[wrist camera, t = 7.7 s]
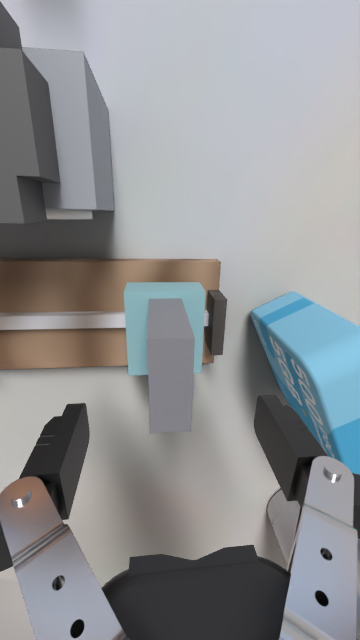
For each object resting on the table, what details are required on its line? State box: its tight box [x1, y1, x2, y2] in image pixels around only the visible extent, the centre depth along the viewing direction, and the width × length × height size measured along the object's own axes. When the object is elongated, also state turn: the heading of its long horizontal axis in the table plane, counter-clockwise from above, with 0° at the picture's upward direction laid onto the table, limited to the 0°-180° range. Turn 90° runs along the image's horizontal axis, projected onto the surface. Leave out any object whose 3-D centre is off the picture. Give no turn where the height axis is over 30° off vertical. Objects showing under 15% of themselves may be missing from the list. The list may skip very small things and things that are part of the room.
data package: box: [251, 291, 360, 475], centre depth 24 cm, size 12×4×12 cm, turn 25°
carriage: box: [124, 282, 206, 433], centre depth 20 cm, size 6×7×10 cm
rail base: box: [0, 258, 227, 369], centre depth 24 cm, size 22×10×4 cm, turn 89°
